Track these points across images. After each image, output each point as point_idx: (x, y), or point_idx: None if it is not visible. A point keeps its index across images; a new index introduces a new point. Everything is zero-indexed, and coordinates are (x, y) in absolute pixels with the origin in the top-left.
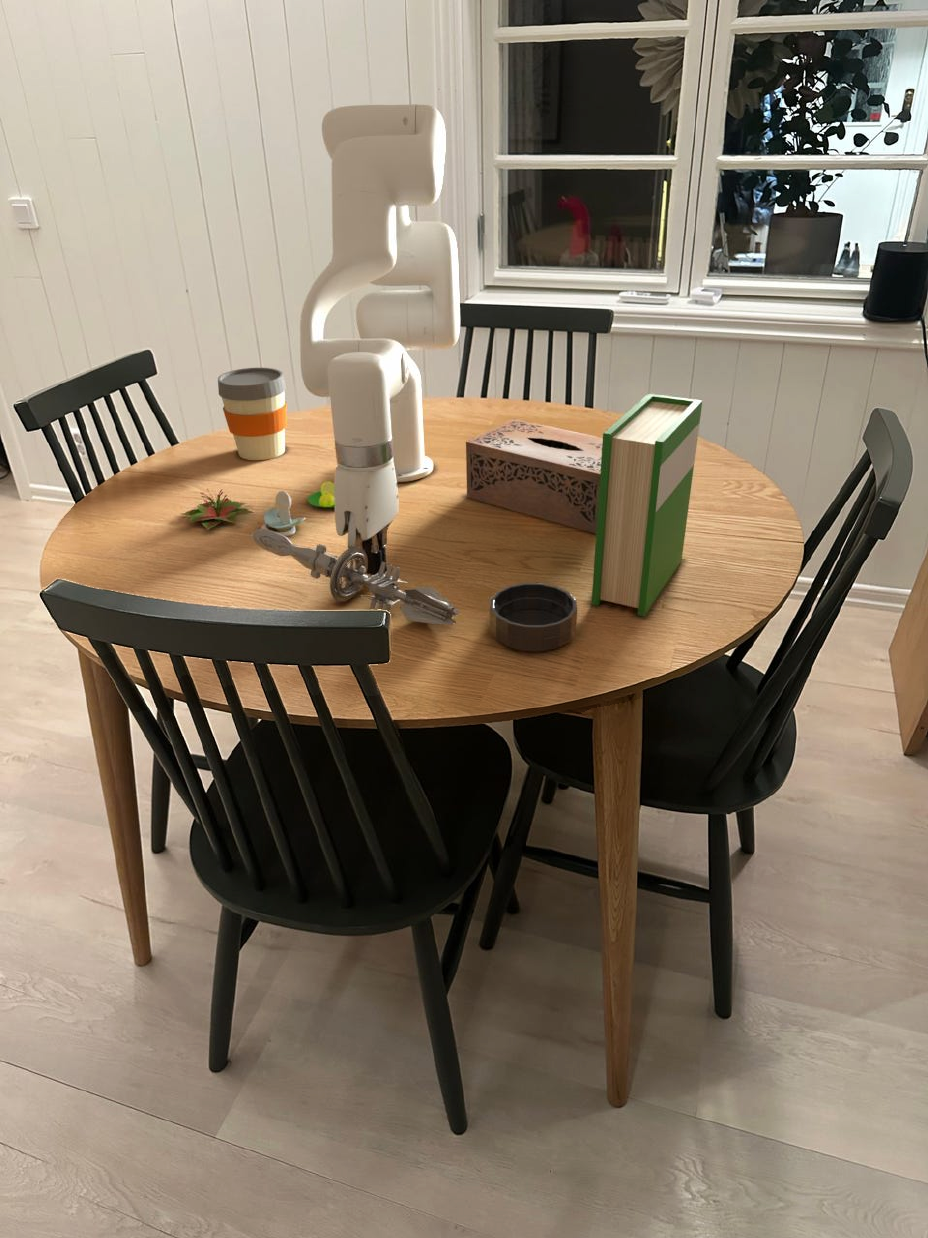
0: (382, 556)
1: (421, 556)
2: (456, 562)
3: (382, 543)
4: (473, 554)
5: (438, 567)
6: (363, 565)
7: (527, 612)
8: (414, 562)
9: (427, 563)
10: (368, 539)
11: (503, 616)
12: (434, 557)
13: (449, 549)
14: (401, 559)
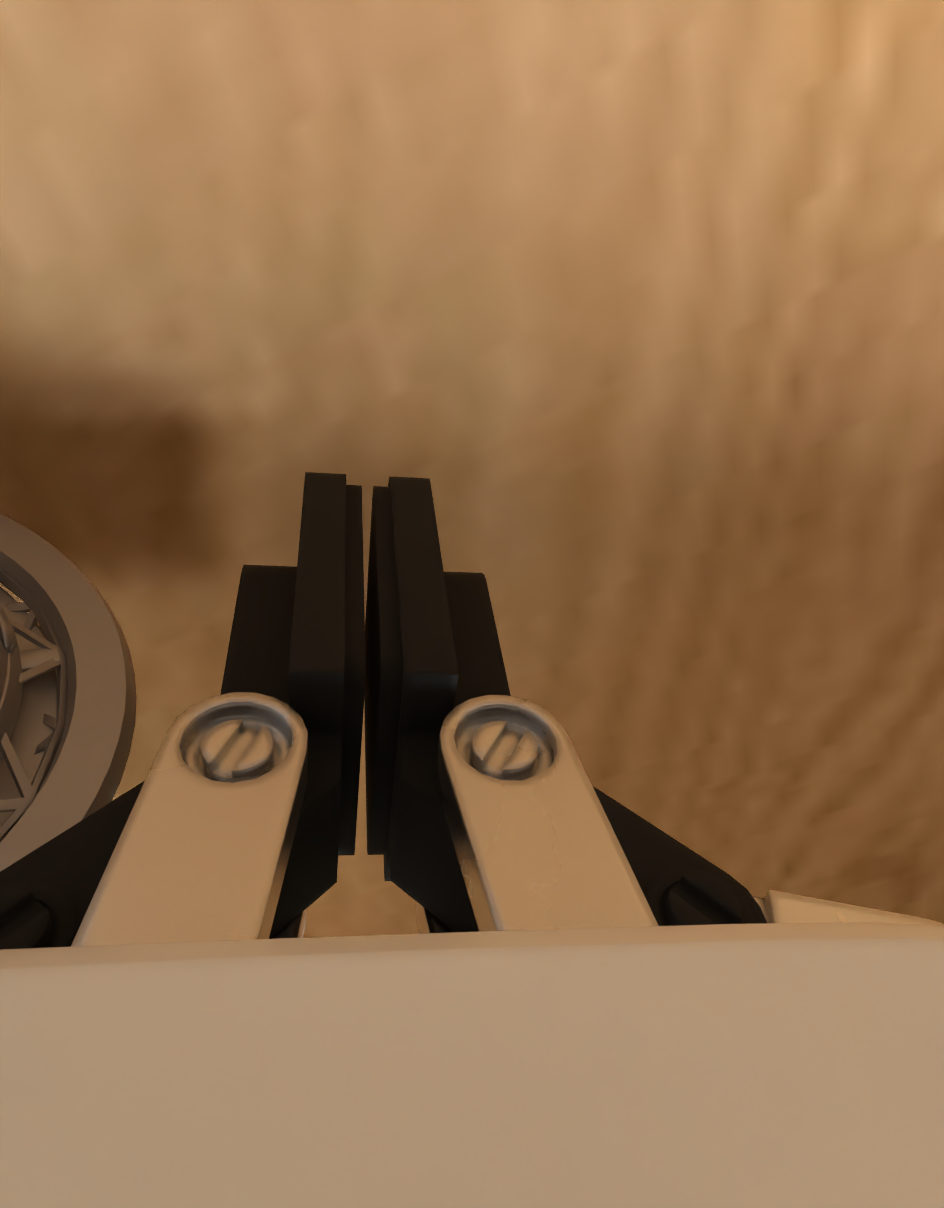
0: (366, 793)
1: (826, 680)
2: (746, 867)
3: (417, 914)
4: (858, 896)
5: (663, 818)
6: (5, 774)
7: None
8: (720, 676)
9: (713, 750)
10: (436, 790)
11: None
12: (812, 753)
13: (936, 783)
14: (765, 575)
